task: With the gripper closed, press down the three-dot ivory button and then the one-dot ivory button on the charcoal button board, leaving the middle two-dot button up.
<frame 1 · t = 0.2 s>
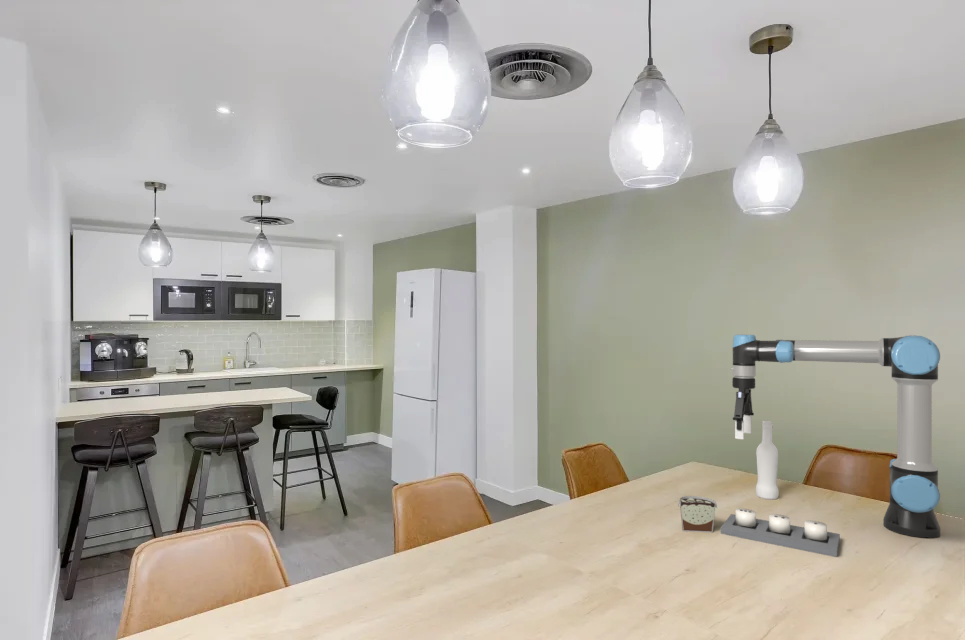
hand: (743, 435, 206), 28 cm above the table, fingers open, 13 cm apart
food container: (695, 529, 189), on the table
bottle: (767, 497, 225), on the table
one dot button: (815, 530, 176), point 4 cm above the table, slide at 0.0 cm
two dot button: (779, 523, 182), point 4 cm above the table, slide at 0.0 cm
button board: (779, 536, 182), on the table
three dot button: (745, 517, 188), point 4 cm above the table, slide at 0.0 cm
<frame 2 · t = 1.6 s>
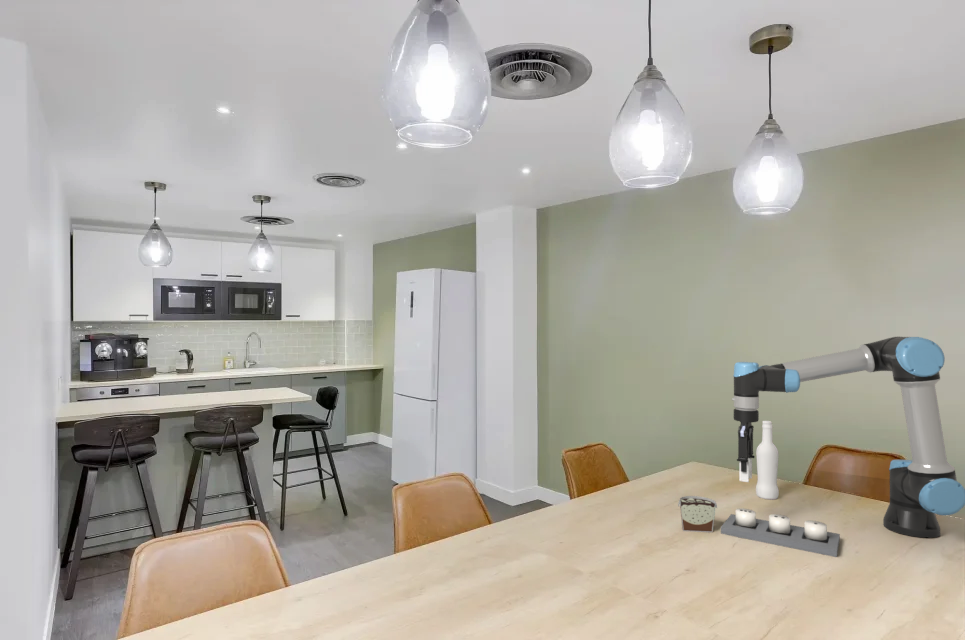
hand: (745, 479, 188), 17 cm above the table, fingers open, 5 cm apart
nothing on the table moved.
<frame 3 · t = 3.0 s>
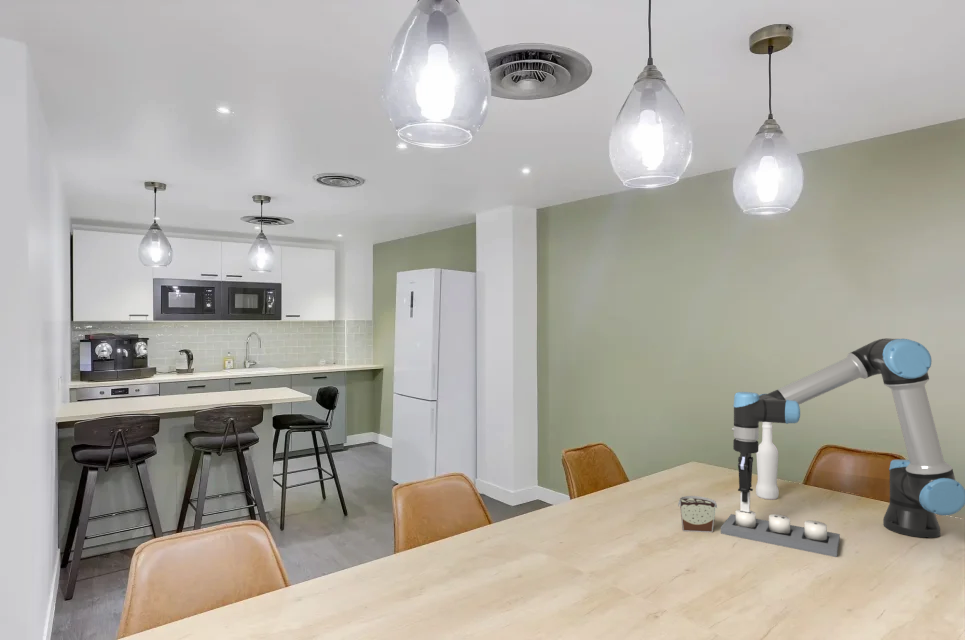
hand: (745, 510, 188), 6 cm above the table, fingers closed
three dot button: (745, 518, 188), point 4 cm above the table, slide at 0.3 cm, touching gripper
everything else where it was.
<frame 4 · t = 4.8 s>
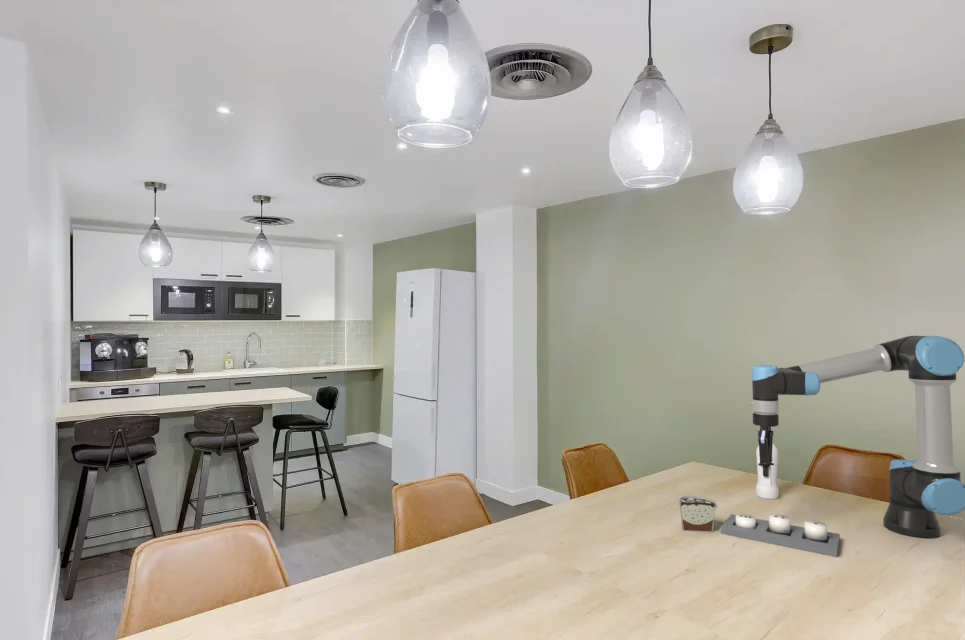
hand: (766, 485, 185), 16 cm above the table, fingers closed
three dot button: (745, 522, 188), point 2 cm above the table, slide at 1.9 cm
everything else where it was.
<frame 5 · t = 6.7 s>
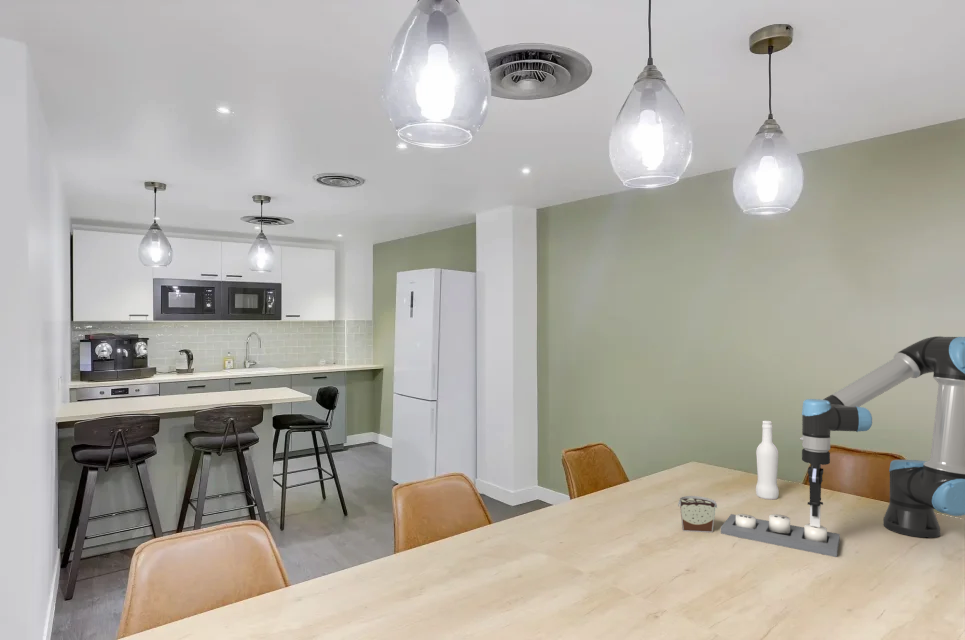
hand: (815, 525, 176), 6 cm above the table, fingers closed
one dot button: (815, 533, 176), point 3 cm above the table, slide at 1.1 cm, touching gripper
everything else where it was.
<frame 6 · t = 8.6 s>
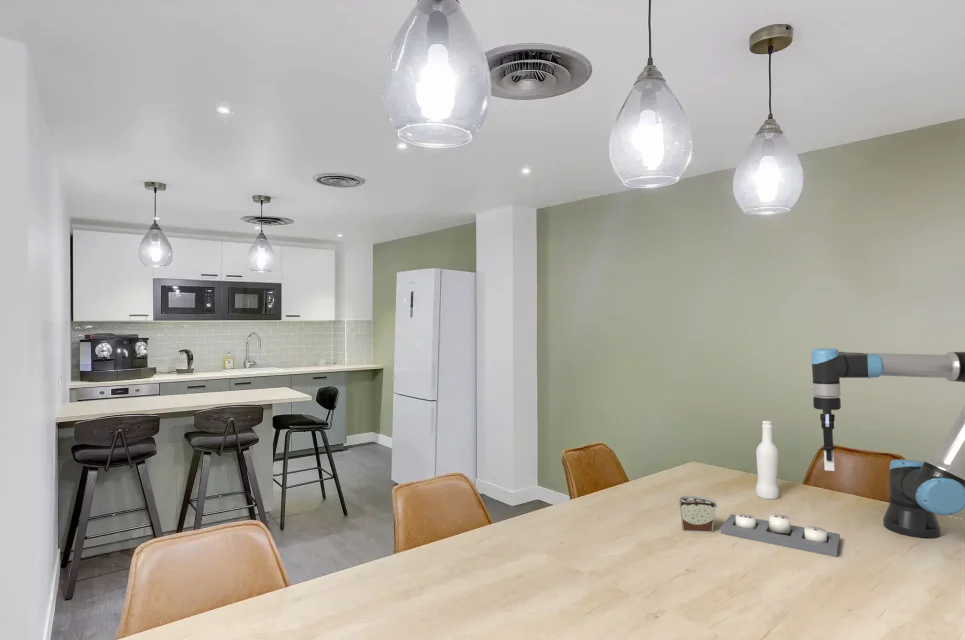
hand: (829, 470, 183), 21 cm above the table, fingers closed
one dot button: (815, 536, 176), point 2 cm above the table, slide at 1.9 cm
everything else where it was.
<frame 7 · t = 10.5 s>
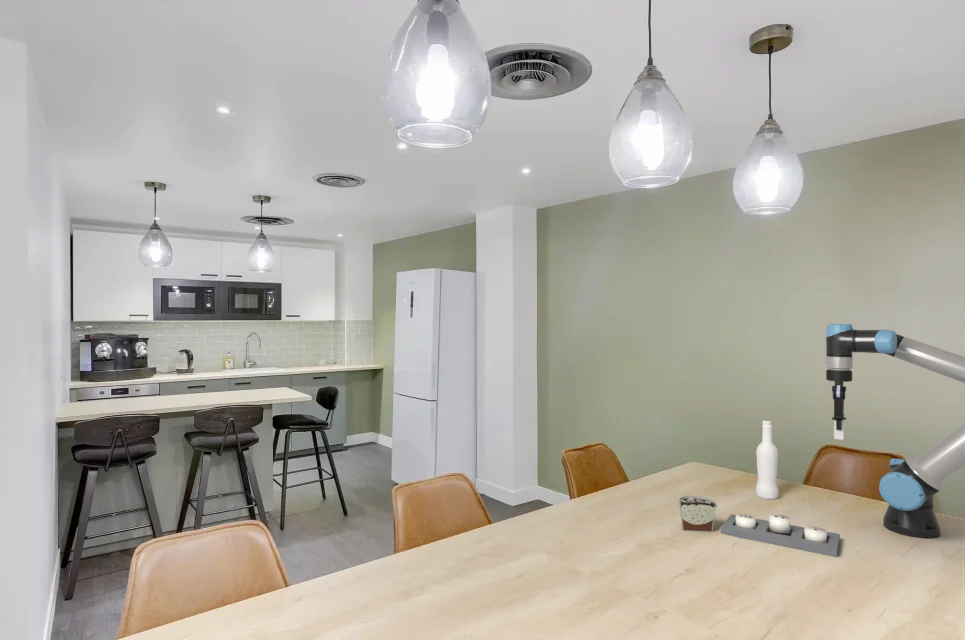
hand: (838, 438, 193), 29 cm above the table, fingers closed
nothing on the table moved.
at the end: three dot button slide at 1.9 cm; one dot button slide at 1.9 cm; two dot button slide at 0.0 cm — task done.
